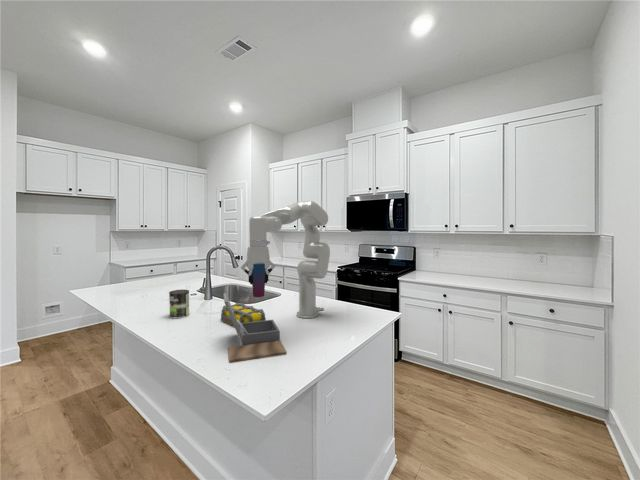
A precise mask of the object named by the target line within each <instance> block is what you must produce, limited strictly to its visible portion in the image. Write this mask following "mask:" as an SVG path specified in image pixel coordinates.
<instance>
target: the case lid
mask: <svg viewBox="0 0 640 480" xmlns="http://www.w3.org/2000/svg"><path fill="white" fill-rule="evenodd" d="M223 302H224V306H225V305H226V307H227V310H228V312H229V315H230V317H231V319H232V322H233V324H234V327H235V328H234V327H233V328H234V329H235V332H236V334H237V336H238V337H240V335H241V332H240V327H239V324H238V322H237V321H236V320H237V318H236V316H235V313H234V311H233V309H232V306H231V305H232V304H231V301H230V299H229V296H228V295H227V292H224V293H223Z"/></svg>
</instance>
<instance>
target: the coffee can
mask: <svg viewBox="0 0 640 480" xmlns="http://www.w3.org/2000/svg"><path fill="white" fill-rule="evenodd" d="M168 294H169V299H168V300H169V318H170V319H175V320H176V319H178V318H179V319H184V318H187V317H189V316H190V290H188V289H175V290H171V291H169V292H168Z"/></svg>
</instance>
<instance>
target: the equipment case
mask: <svg viewBox="0 0 640 480" xmlns="http://www.w3.org/2000/svg"><path fill="white" fill-rule="evenodd" d="M236 321H237V322H238V324H239V325H240V332H241V335H240V336H239V337H240V341H241V346H243V345H250V344H257V343H265V342H272V341H279V340H280V337H281V333H280V329H279V327H278V326H277V324H276V322H275V320H274V319H267V320H264V321H255V322H246V323H240V322H239V320H238V319H237V320H236ZM280 341H281V340H280Z"/></svg>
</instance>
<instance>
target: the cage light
mask: <svg viewBox="0 0 640 480" xmlns="http://www.w3.org/2000/svg"><path fill="white" fill-rule="evenodd" d="M231 306H232V309H233V311H234V313H235V316H236V318H237V319H238V320H239V322H240V323H246V322H255V321H264V320H266V319H267V318H266V314H265V312H264V309H262V308H255V306H253V305H246V304H245V303H243V302H241V303H240V302H236V303H235V304H231ZM220 321H221V323H223V324H226V325H227V326H231V327H232V328H234V329H235V327H234V324H233V322H232V319H231V317H230V315H229V312H228V310H227V307H226V305H225V304H224V305H223V306H222V309H221V313H220ZM239 327H240V325H239Z"/></svg>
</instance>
